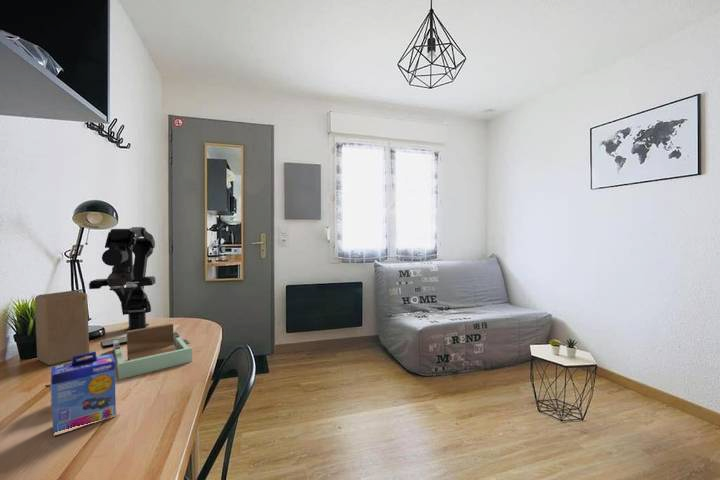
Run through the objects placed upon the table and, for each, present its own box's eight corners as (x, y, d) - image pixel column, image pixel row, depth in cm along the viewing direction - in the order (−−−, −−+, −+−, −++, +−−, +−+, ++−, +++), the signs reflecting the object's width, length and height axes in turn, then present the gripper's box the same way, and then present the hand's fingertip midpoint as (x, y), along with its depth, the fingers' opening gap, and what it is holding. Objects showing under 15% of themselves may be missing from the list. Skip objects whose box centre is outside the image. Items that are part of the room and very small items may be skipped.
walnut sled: (127, 360, 97) (126, 331, 96) (172, 350, 104) (172, 323, 104) (131, 373, 88) (130, 341, 87) (180, 361, 95) (179, 331, 95)
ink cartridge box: (52, 439, 60) (49, 362, 59) (52, 426, 64) (49, 354, 63) (118, 417, 67) (115, 348, 66) (114, 406, 71) (112, 342, 70)
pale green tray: (102, 351, 103) (101, 339, 103) (182, 336, 118) (182, 325, 118) (104, 382, 82) (104, 367, 82) (203, 358, 97) (202, 345, 97)
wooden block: (90, 355, 101) (88, 292, 100) (48, 367, 92) (45, 298, 91) (77, 349, 106) (75, 289, 105) (36, 360, 97) (33, 295, 97)
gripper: (80, 266, 105) (82, 313, 105) (147, 264, 111) (148, 308, 111) (95, 263, 115) (96, 306, 115) (155, 261, 121) (156, 302, 122)
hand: (124, 306), depth 116 cm, fingers closed
